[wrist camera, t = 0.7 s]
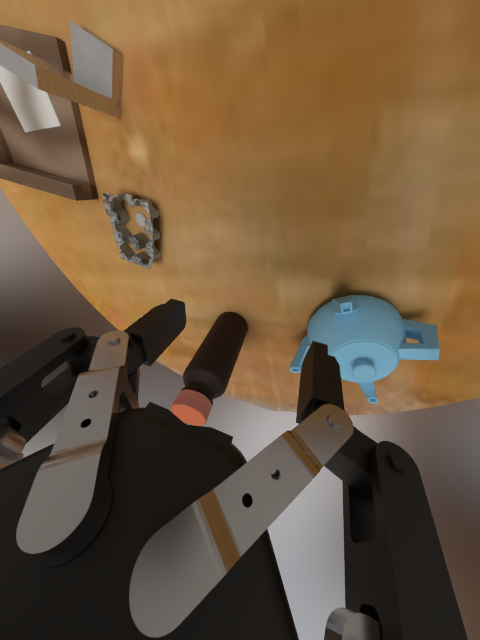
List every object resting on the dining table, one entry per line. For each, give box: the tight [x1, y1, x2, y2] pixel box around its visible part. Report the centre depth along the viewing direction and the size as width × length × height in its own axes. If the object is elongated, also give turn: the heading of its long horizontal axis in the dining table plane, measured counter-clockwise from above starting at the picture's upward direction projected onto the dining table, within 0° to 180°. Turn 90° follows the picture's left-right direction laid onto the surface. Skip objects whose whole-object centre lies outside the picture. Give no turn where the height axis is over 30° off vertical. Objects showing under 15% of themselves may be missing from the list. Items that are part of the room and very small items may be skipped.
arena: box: [0, 25, 98, 201], centre depth 27 cm, size 16×16×4 cm
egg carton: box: [103, 193, 161, 269], centre depth 32 cm, size 11×8×4 cm
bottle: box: [171, 312, 248, 426], centre depth 33 cm, size 7×7×20 cm
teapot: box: [289, 295, 440, 403], centre depth 30 cm, size 15×15×11 cm
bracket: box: [0, 21, 123, 118], centre depth 20 cm, size 6×5×10 cm
